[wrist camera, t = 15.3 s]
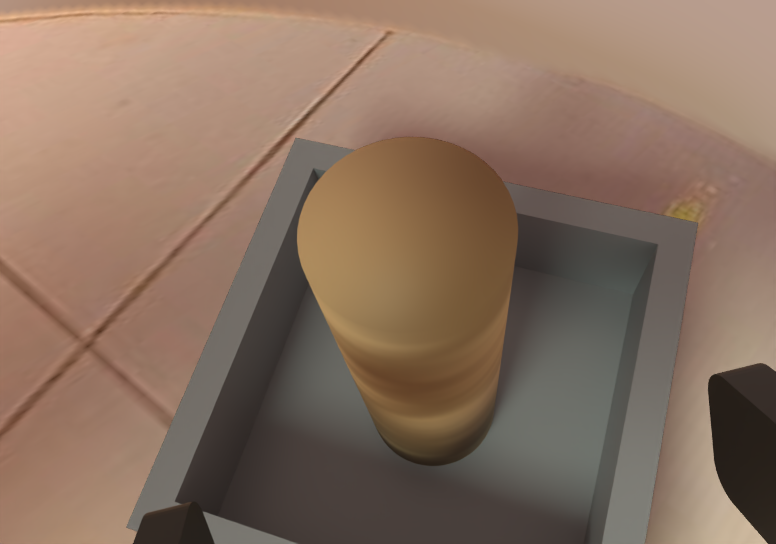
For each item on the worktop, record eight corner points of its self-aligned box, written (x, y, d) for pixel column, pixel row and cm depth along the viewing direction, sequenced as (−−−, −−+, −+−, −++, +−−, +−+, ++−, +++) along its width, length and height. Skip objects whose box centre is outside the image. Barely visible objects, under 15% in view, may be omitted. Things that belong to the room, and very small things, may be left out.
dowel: (355, 445, 24) (264, 299, 13) (392, 333, 25) (339, 119, 14) (476, 482, 23) (486, 358, 12) (507, 363, 24) (540, 160, 14)
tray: (184, 543, 24) (126, 527, 20) (320, 205, 29) (295, 137, 25) (589, 686, 21) (618, 701, 17) (662, 285, 26) (698, 222, 22)
